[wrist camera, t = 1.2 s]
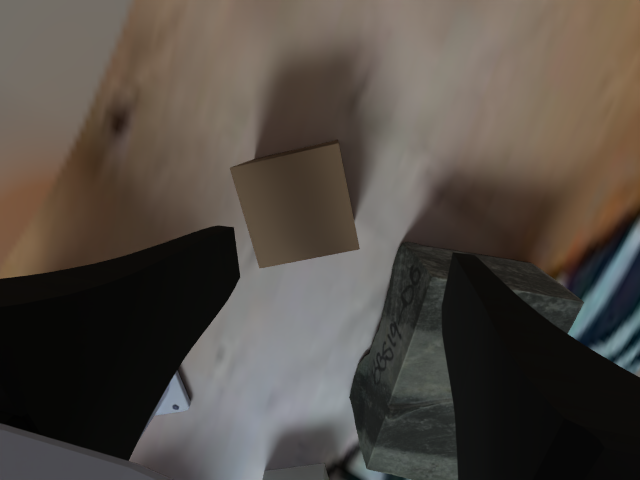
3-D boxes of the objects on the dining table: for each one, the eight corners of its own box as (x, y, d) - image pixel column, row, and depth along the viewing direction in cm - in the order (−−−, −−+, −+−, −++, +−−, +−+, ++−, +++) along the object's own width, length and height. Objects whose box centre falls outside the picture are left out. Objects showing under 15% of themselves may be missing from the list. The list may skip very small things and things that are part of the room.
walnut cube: (276, 237, 22) (259, 268, 17) (254, 158, 20) (229, 167, 15) (353, 222, 21) (359, 249, 16) (337, 139, 20) (338, 143, 15)
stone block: (344, 410, 26) (345, 477, 21) (391, 232, 21) (407, 263, 16) (459, 432, 26) (488, 504, 21) (530, 259, 22) (587, 299, 17)
